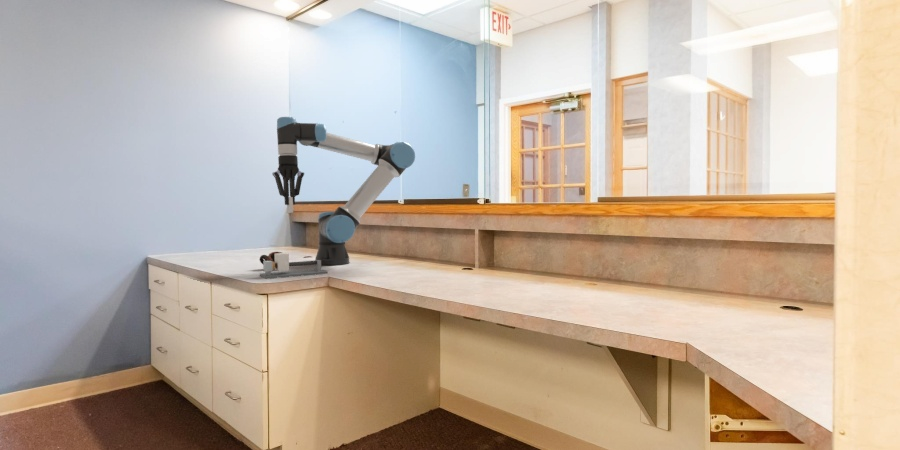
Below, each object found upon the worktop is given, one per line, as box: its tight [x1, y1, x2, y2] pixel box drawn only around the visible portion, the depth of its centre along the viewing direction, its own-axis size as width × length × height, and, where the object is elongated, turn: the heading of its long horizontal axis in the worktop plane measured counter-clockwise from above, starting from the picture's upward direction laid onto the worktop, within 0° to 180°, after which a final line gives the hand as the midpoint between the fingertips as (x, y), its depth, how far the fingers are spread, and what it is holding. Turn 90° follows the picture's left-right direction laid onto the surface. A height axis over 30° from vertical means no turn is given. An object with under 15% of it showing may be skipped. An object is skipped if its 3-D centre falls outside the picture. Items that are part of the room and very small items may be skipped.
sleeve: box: [274, 252, 290, 272], centre depth 193 cm, size 4×5×6 cm
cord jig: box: [259, 259, 329, 279], centre depth 196 cm, size 23×10×6 cm, turn 125°
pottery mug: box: [258, 251, 283, 265], centre depth 212 cm, size 12×10×8 cm
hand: (290, 212), depth 211 cm, fingers closed
